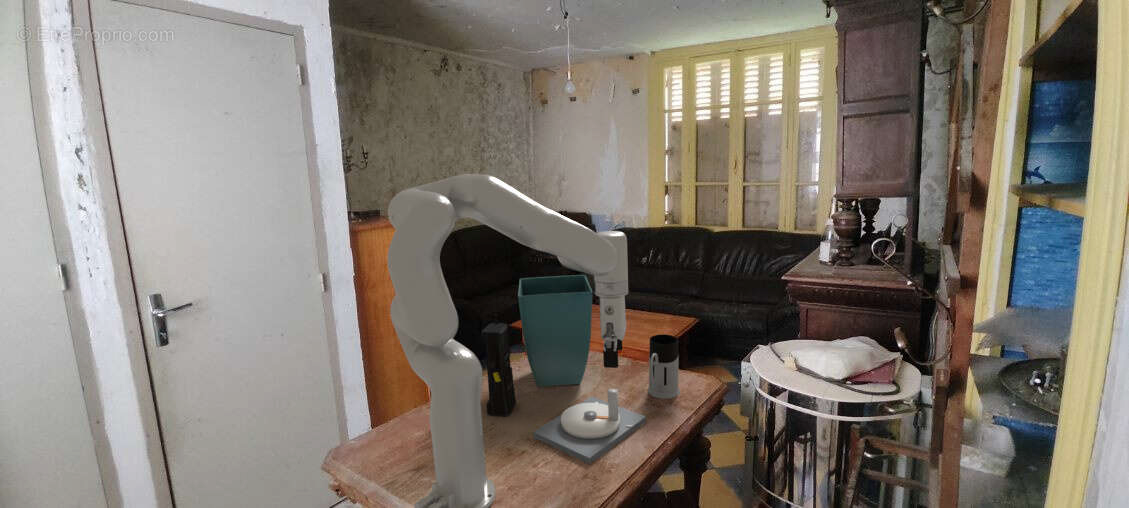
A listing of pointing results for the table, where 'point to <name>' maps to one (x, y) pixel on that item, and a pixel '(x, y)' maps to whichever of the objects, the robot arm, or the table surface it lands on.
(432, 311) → the robot arm
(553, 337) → the flower pot
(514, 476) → the table surface
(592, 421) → the white round dome
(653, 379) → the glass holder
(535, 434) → the stand
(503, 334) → the portable radio
